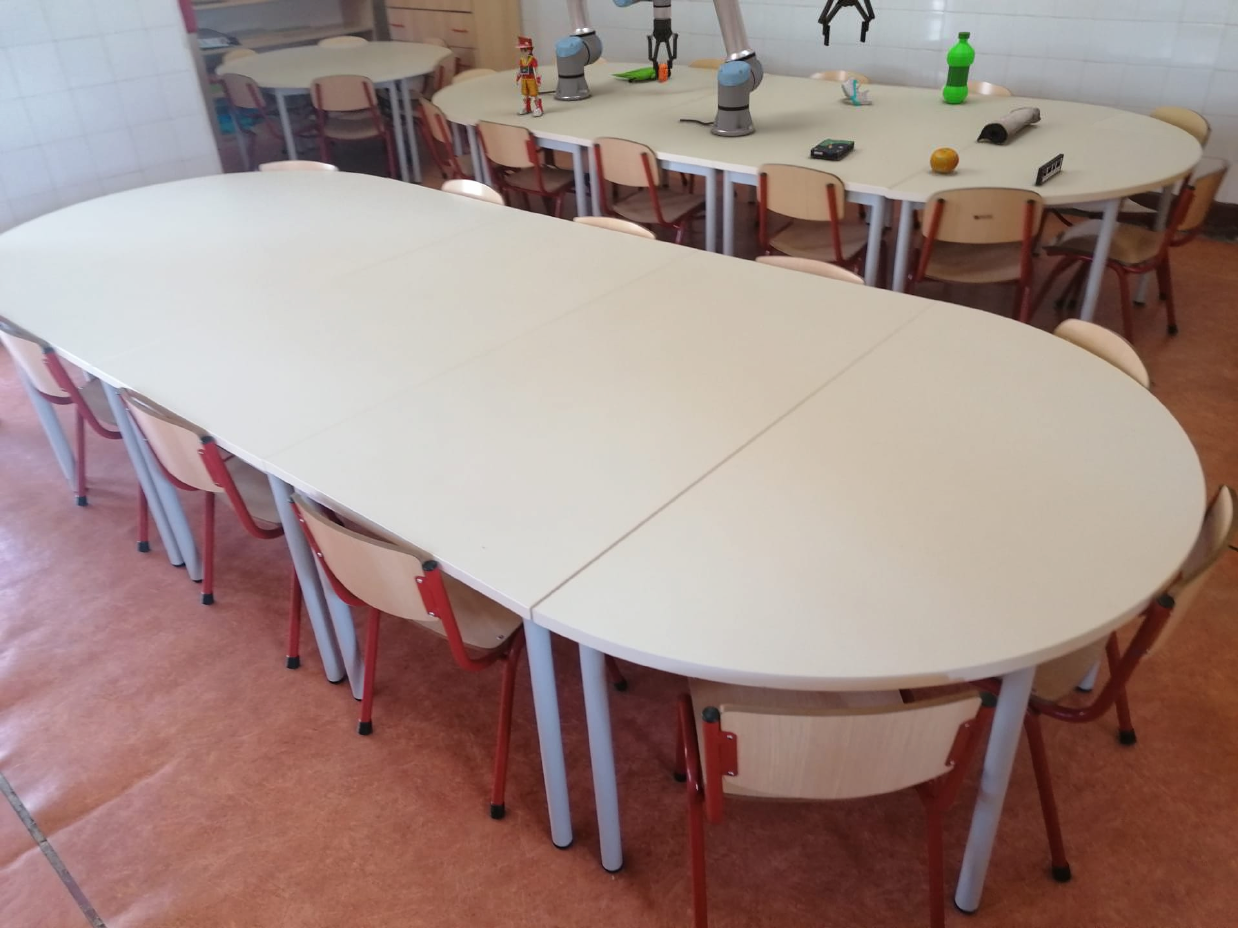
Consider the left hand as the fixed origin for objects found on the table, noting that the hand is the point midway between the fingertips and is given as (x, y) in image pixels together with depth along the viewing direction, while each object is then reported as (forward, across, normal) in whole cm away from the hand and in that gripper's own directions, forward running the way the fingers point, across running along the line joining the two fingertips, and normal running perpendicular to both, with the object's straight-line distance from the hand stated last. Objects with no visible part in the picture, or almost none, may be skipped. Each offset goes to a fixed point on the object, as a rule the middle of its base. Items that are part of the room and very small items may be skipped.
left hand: (662, 77), depth 386 cm
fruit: (+5, -58, +140) cm, 151 cm away
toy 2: (+8, +3, -38) cm, 39 cm away
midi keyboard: (+5, -84, +156) cm, 178 cm away
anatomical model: (+6, -70, +44) cm, 83 cm away
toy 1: (+8, +59, +10) cm, 61 cm away
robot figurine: (+2, 0, 0) cm, 2 cm away
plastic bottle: (+5, -104, +61) cm, 121 cm away
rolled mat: (+5, -99, +108) cm, 147 cm away
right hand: (-23, -48, +78) cm, 94 cm away
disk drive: (+6, -33, +109) cm, 114 cm away
